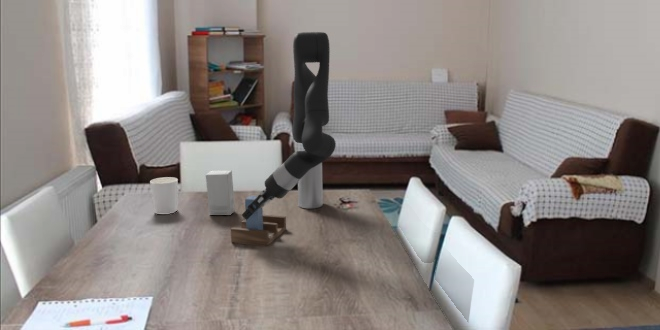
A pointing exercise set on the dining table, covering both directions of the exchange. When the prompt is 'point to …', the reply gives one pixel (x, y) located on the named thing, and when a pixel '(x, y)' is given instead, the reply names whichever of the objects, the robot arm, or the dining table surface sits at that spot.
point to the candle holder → (165, 194)
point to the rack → (260, 231)
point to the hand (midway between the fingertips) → (249, 213)
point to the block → (254, 216)
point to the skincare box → (220, 192)
